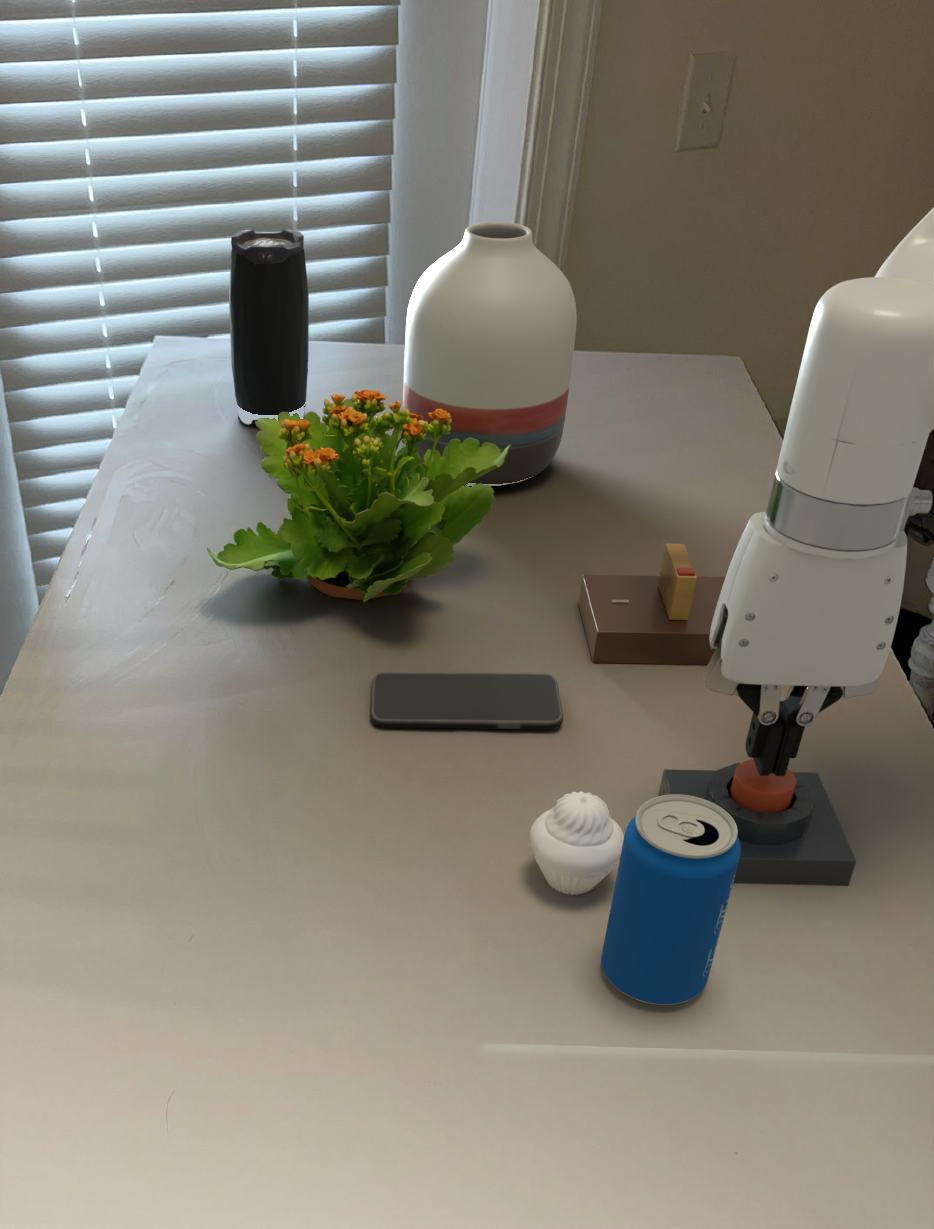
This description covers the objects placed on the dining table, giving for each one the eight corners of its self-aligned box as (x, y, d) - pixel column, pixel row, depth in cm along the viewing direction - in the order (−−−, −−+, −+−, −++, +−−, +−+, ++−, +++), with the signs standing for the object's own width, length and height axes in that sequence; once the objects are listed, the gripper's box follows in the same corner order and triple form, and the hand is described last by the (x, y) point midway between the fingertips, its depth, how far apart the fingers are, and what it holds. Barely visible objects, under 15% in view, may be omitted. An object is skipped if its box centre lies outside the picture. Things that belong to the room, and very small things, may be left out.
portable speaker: (309, 402, 157) (309, 224, 145) (306, 433, 150) (306, 249, 138) (236, 401, 158) (230, 224, 145) (230, 432, 150) (223, 248, 138)
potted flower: (281, 503, 136) (279, 327, 125) (513, 531, 131) (532, 351, 120) (200, 622, 117) (188, 428, 106) (467, 660, 112) (484, 461, 101)
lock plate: (736, 606, 119) (743, 574, 117) (761, 666, 111) (769, 632, 109) (578, 604, 120) (582, 572, 118) (592, 663, 112) (597, 629, 110)
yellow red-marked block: (657, 585, 116) (665, 540, 113) (676, 585, 116) (684, 540, 113) (668, 620, 111) (677, 574, 109) (688, 620, 111) (697, 574, 108)
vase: (377, 483, 140) (385, 243, 125) (429, 425, 152) (442, 200, 137) (535, 510, 134) (563, 263, 120) (575, 448, 147) (605, 217, 132)
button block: (810, 796, 97) (823, 751, 95) (848, 886, 89) (864, 840, 87) (658, 793, 98) (667, 748, 95) (682, 882, 90) (693, 836, 87)
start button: (782, 779, 93) (788, 759, 92) (797, 815, 90) (803, 794, 89) (724, 778, 93) (729, 758, 92) (736, 814, 90) (742, 793, 89)
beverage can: (684, 1029, 79) (723, 875, 72) (583, 987, 82) (610, 835, 75) (720, 964, 84) (760, 812, 76) (622, 927, 86) (652, 777, 79)
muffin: (515, 897, 89) (525, 814, 84) (535, 843, 93) (546, 761, 89) (608, 919, 87) (624, 835, 83) (624, 862, 91) (640, 780, 87)
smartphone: (371, 670, 109) (556, 671, 108) (371, 680, 110) (555, 681, 109) (370, 721, 104) (565, 723, 103) (370, 731, 104) (564, 733, 103)
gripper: (943, 483, 81) (863, 735, 92) (694, 478, 81) (645, 730, 93) (988, 539, 75) (896, 801, 86) (719, 534, 75) (663, 795, 87)
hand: (767, 763), depth 90 cm, fingers closed
